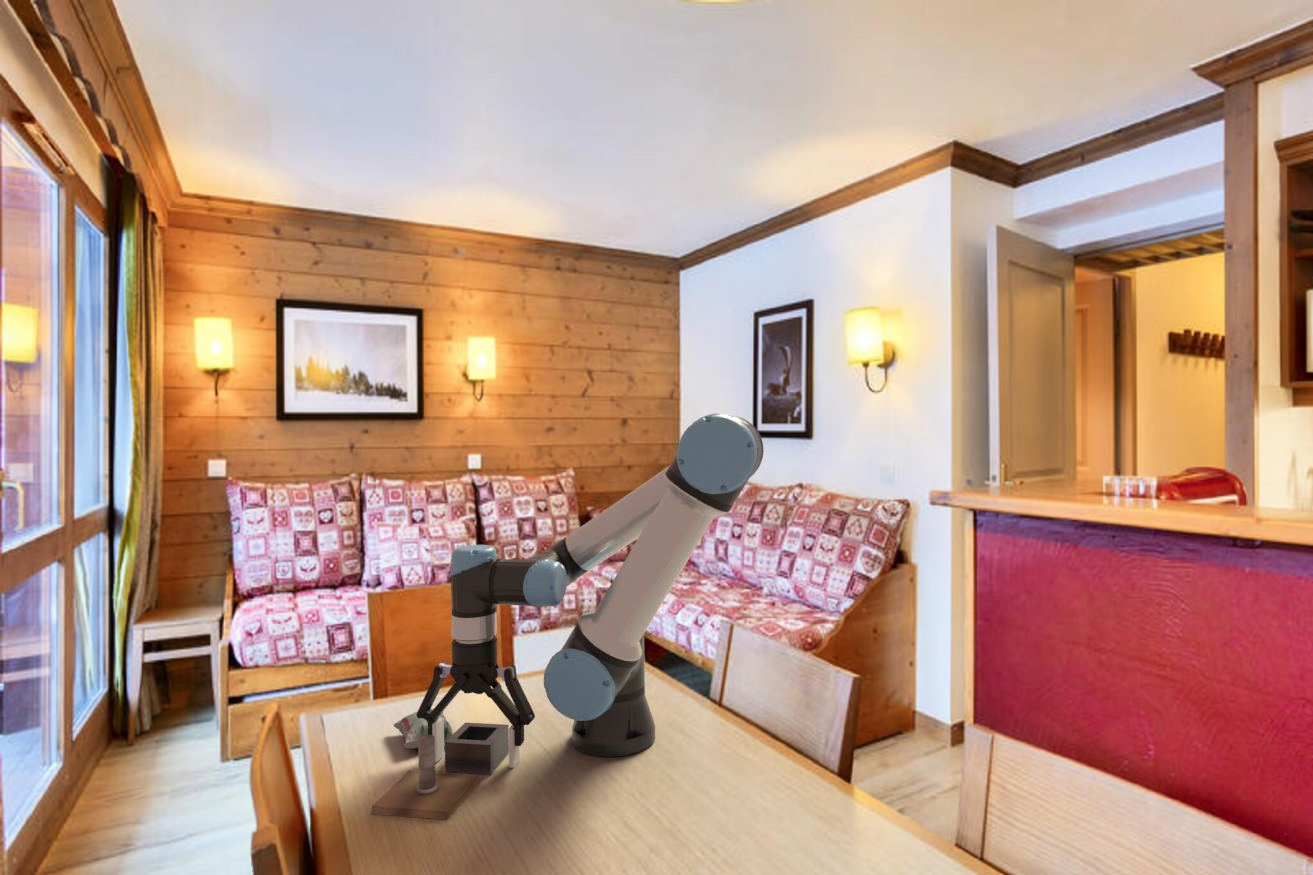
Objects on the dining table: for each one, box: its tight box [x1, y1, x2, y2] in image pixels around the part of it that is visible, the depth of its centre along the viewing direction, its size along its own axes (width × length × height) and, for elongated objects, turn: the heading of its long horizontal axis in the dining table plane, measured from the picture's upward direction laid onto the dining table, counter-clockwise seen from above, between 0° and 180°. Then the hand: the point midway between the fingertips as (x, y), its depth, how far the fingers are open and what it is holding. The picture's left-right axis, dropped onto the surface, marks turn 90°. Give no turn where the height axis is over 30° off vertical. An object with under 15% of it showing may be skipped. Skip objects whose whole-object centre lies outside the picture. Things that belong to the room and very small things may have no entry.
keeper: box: [371, 735, 480, 820], centre depth 109 cm, size 12×11×9 cm
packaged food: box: [393, 708, 454, 750], centre depth 129 cm, size 9×12×5 cm
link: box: [444, 722, 509, 776], centre depth 120 cm, size 8×8×5 cm
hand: (476, 761), depth 121 cm, fingers open, 13 cm apart
